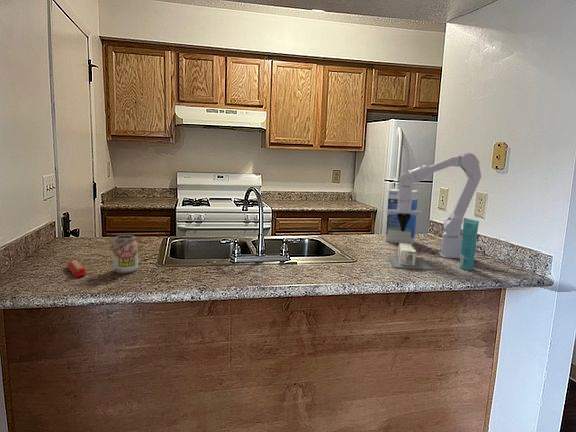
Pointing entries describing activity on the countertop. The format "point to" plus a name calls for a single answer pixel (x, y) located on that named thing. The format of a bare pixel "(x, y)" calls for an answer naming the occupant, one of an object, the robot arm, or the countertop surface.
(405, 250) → the syrup box
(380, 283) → the countertop surface
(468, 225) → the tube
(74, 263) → the candy bar
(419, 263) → the mat
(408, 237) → the string lights box
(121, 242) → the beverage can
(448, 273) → the countertop surface
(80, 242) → the countertop surface
